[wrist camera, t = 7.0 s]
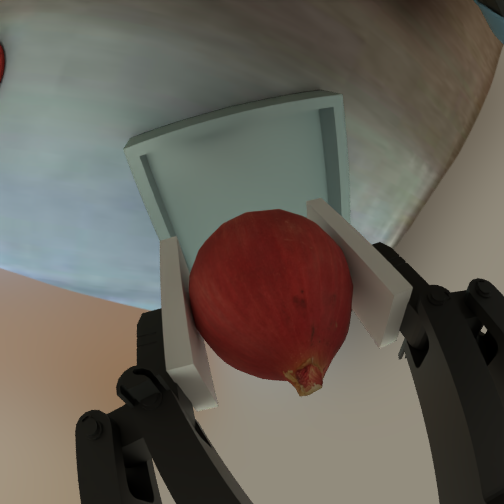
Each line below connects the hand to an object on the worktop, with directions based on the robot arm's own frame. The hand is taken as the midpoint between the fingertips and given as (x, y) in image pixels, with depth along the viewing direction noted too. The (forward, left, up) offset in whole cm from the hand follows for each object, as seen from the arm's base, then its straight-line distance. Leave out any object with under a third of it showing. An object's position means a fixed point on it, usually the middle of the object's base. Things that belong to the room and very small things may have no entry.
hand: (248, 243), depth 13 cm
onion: (0, 0, 0) cm, 0 cm away
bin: (-3, +5, -15) cm, 16 cm away
